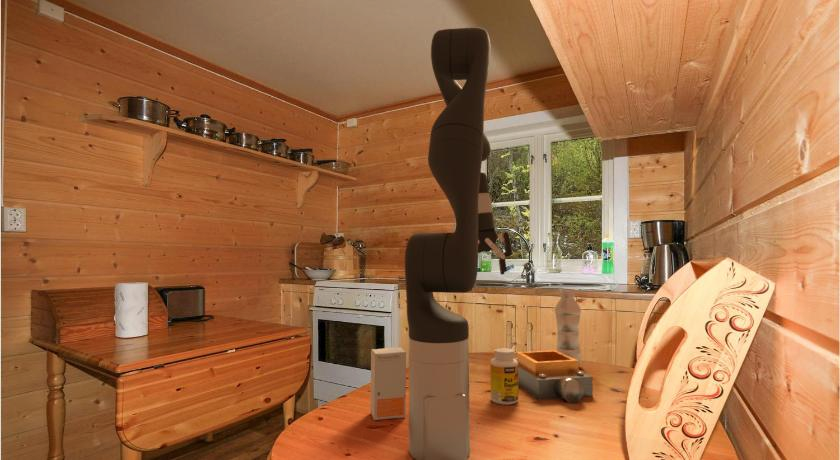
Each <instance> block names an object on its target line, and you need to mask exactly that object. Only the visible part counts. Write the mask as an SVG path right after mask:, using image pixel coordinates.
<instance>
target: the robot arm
mask: <svg viewBox="0 0 840 460" xmlns="http://www.w3.org/2000/svg"><path fill="white" fill-rule="evenodd" d="M430 45H431V47H430V60H431V67H432V71H433V74H434V78H435V80H436V82H437V86H438V88H439V90H440V94H441V96H442V99H443V101H444V104H445V105H446V106H445V108H444V109H443V110H442V111H441V113H440V114H438V116H437V118H436V119H435V121H434V123H433V125H432V126H431V131H430V139H429V147H428V153H427V154H428V155H427V163H428V166H429V170H430V172H431V174H432V175H433V176H432V177H433V178H434V179H435V181H436V184H438V186H439V187H440V189H441V190H442V192H443V193H444V195H445V197H446V199H447V201H448V202H449V205H450V207H451V209H452V211H453V214H454V218H455V219H454V220H455V229H454V231H453V232H421V233H414V234H413V235H411V236H410V237H409V239H408V241H407V242H406V246H405V251H404V279H405V294H406V296H405V297H406V317H407V324H408V431H409V433H408V443H409V444H408V447H409V448H408V452H409V454H410V456H411V457H412V458H413V459H414V460H468V457H469V456H470V453H471V441H470V440H471V436H470V434H471V430H470V429H471V428H470V425H471V424H470V359H469V358H470V350H469V348H470V347H469V346H470V345H469V344H470V342H469V341H470V340H469V338H470V337H469V334H470V333H469V332H470V330H469V328H470V327H469V321H468V320H467V318H466V317H465V316H462V315H461V314H459V313H456V312H453V311H451V310H449V309H447V308H446V307H444V306H443V305H441V304H440V303H439V302H438V301H437V300H436V299H435V297H434V293H446V294H448V293H451V294H452V293H453V294H458V293H459V294H463V293H465V294H466V293H469V292H471V291H472V290H473V289H474V287H475V285H476V282H477V277H478V269H479V253H480V254H481V253H483V252H484V253H489V252H491V251H492V252H493V253H494V254H495V255H496V256H497V257H498V258H499V259H498V265H499V273H500V275H501V276H502V275H505V273H506V272H507V270H508V269H507V262H506V259H507V258H508V257H511V256H512V255H513V250H512V246H511V240H510V236H509V233H508V232H503V233H499V234H498V233H496V228H495V221H494V219H495V218H494V213H493V212H494V211H493V205H492V201H491V200H492V199H491V197H490V190H489V184H488V182H489V181H488V176H487V174H486V172H485V171H482V164H483V162H484V161H486V160H488V159H489V157H490V155H491V144H490V141H489V139H488V137H487V136H486V133H485V132H484V129H485V127H484V126H485V125H484V122H485V120H484V119H485V100H486V92H487V87H488V86H487V85H488V84H487V83H488V78H489V70H490V63H491V62H490V61H491V49H492V47H491V39H490V36H489V33H488V31H487V30H486V29H484V28H482V27H475V26H474V27H462V28H461V27H460V28H459V27H458V28H445V29H439V30H437V31H435V32H434V34H433V36H432V39H431V44H430ZM458 81H465V83H464V85H463V86H461V85H460V84H459V82H458ZM498 239H499V241H500V242H503V246H504V252H502V251H501V249H500V248H499V247H498V246H497V245H496V243H497V241H498Z"/></svg>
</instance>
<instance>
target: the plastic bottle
mask: <svg viewBox="0 0 840 460" xmlns="http://www.w3.org/2000/svg"><path fill="white" fill-rule="evenodd" d="M559 297H560V299H559V300H558V302H557V303H556V305H555V308H554V313H555V320H556V329H557V331H556V332H557V333H556V334H557V339H556V348H555V350H556V351H559V352H561V353H563V354H565V355H567V356H570V357H572V358H574V359H576V360H578V361H579V366H580V365H581V363H582V359H583V358H582V357H583V356H582V351H581V347H580V323H581V322H580V320H581V313H582V310H581V307H580V305H579V303H578V302H577V300H575V297H576V295H575V289H572V288H561V289H559Z"/></svg>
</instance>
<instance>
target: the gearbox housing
mask: <svg viewBox="0 0 840 460" xmlns="http://www.w3.org/2000/svg"><path fill="white" fill-rule="evenodd" d="M515 354H516V355H515V356H516V357H514V359H516V360H517V361H518V386H519V387H521V388H522V389H524V391H527V393H529V394H530V395H531V396H533V397H534V398H536V399H537V400H538V401H546V400H560V399H564V400H565V401H566V402H568V403H571V404H576V403H578V402H580V401H581V400H582V399H583V398H585V397H593V396H594V395H593V391H594V390H593V389H594V387H593V376H591V375H590V374H587V373H585V371H582V370H580V369H579V366H580V365H579V361H578V360H576V359H574V358H572V357H570V356H567V355H565V354H563V353H561V352H559V351H556V349H553V350H536V351H532V350H531V351H517V352H516V353H515Z"/></svg>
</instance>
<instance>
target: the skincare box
mask: <svg viewBox="0 0 840 460" xmlns="http://www.w3.org/2000/svg"><path fill="white" fill-rule="evenodd" d="M370 356H371V357H370V413H371V415H372V416H371V417H372V418H373V421H378V420H391V419H400V418H401V419H403V418H406V413H407V411H406V410H407V409H406V407H407V406H406V404H407V400H406V399H407V391H406V390H407V352H406V351H405V350H404V349H403V348H402V347H385V348H372V349H370Z"/></svg>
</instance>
